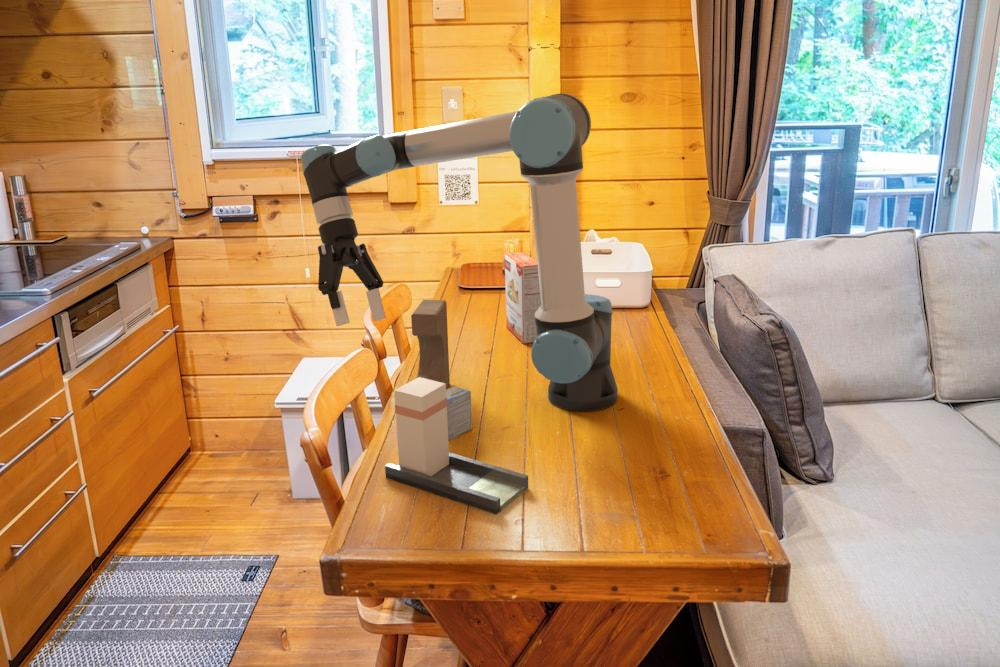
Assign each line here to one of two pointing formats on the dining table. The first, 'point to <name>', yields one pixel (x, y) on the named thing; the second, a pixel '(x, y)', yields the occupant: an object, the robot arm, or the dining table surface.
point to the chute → (466, 482)
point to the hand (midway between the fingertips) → (362, 322)
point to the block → (422, 426)
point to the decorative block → (432, 340)
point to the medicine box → (458, 411)
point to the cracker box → (522, 295)
